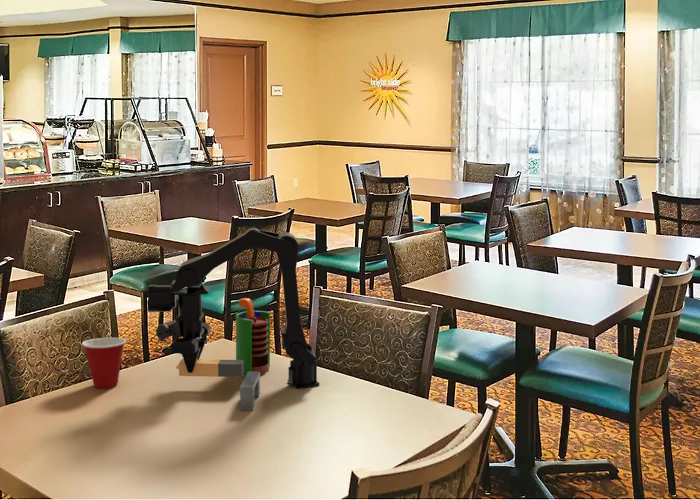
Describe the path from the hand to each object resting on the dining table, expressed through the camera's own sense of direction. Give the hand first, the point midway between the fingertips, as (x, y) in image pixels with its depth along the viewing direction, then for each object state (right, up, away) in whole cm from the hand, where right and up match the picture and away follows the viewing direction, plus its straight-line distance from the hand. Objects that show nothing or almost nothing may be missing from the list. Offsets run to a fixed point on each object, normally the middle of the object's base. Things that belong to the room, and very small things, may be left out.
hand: (192, 370), depth 201 cm
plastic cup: (-23, -4, +2) cm, 23 cm away
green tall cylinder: (+14, -3, +15) cm, 20 cm away
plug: (+5, -1, 0) cm, 5 cm away
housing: (+16, -6, -9) cm, 19 cm away
